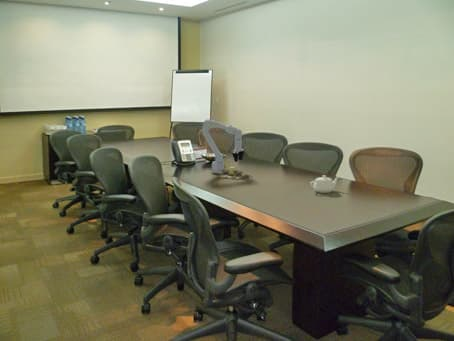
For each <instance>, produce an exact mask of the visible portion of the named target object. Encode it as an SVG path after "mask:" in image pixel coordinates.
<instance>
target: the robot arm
mask: <svg viewBox="0 0 454 341" xmlns="http://www.w3.org/2000/svg"><path fill="white" fill-rule="evenodd" d="M211 127H213V128H214V127H217V128H219V129H222V130H225V132H226V133H228V134H231V135H234V149H233V150H232V152H231V156H232V157H233V160H234V163H235V162H236V163H237V162H239V161H243V157H244V154H245V151H244V150H245V149H244V148H243V138H242V137H243V136H242V135H243V131H242V130H241V129H240V128H238V127H234V126H232V125H231V124H230V125H226V124H223V123H220V122H218V121H216V120H213V119H210V118H209V119H208V118H207V119H205V120H204V122H203V124H202V132H201V133H202V136H203V137H204V139H205V140H206V142H207V144H208V146H209V147H210V150H211V151H212V153H213V156H214V157H215V158H214V159H215V160H214V161H212V163H211V171H210V172H211V173H212V174H219V175H222V174H223V172H222V170H223V169H225V161H224V154H223V153H221V152H220V149H219V148H218V147H217V145H216V143H215V141H214V140H213V138H212V135H211V134H210V133H209V131H210V129H211ZM238 160H239V161H238Z"/></svg>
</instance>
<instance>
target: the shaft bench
mask: <svg viewBox="0 0 454 341" xmlns="http://www.w3.org/2000/svg"><path fill="white" fill-rule="evenodd" d="M222 172H223V173H222V174H219V175H217V176H218V178H220V179H221V178H223V179H230V180H240V179H243V178H245V177H247V174H244V172H243V171H242V170H237V171H235V174H236V175H235V176H234V175H229V169H225V168H224V169H223V170H222Z"/></svg>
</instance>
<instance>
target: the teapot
mask: <svg viewBox="0 0 454 341" xmlns="http://www.w3.org/2000/svg"><path fill="white" fill-rule="evenodd" d="M338 179H340V177H339V176H337V177H335V179H334V180H333V178H331V177H327V175H325V174H324V175H323V174H322V176H321V177H320V176H319V177H316V178H315V180H312V181H310V183H309V184H310V187H311V188H312V189H314V191H315V192H317V193H321V194H322V193H323V194H329V193H332V192H333V191H334V190H335V186H336V185H337V181H338Z"/></svg>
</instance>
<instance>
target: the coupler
mask: <svg viewBox="0 0 454 341" xmlns="http://www.w3.org/2000/svg"><path fill="white" fill-rule="evenodd" d="M228 170H229V175H234V176H235V175H236V174H235V171H238V170H237V166H230V167H228Z"/></svg>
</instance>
